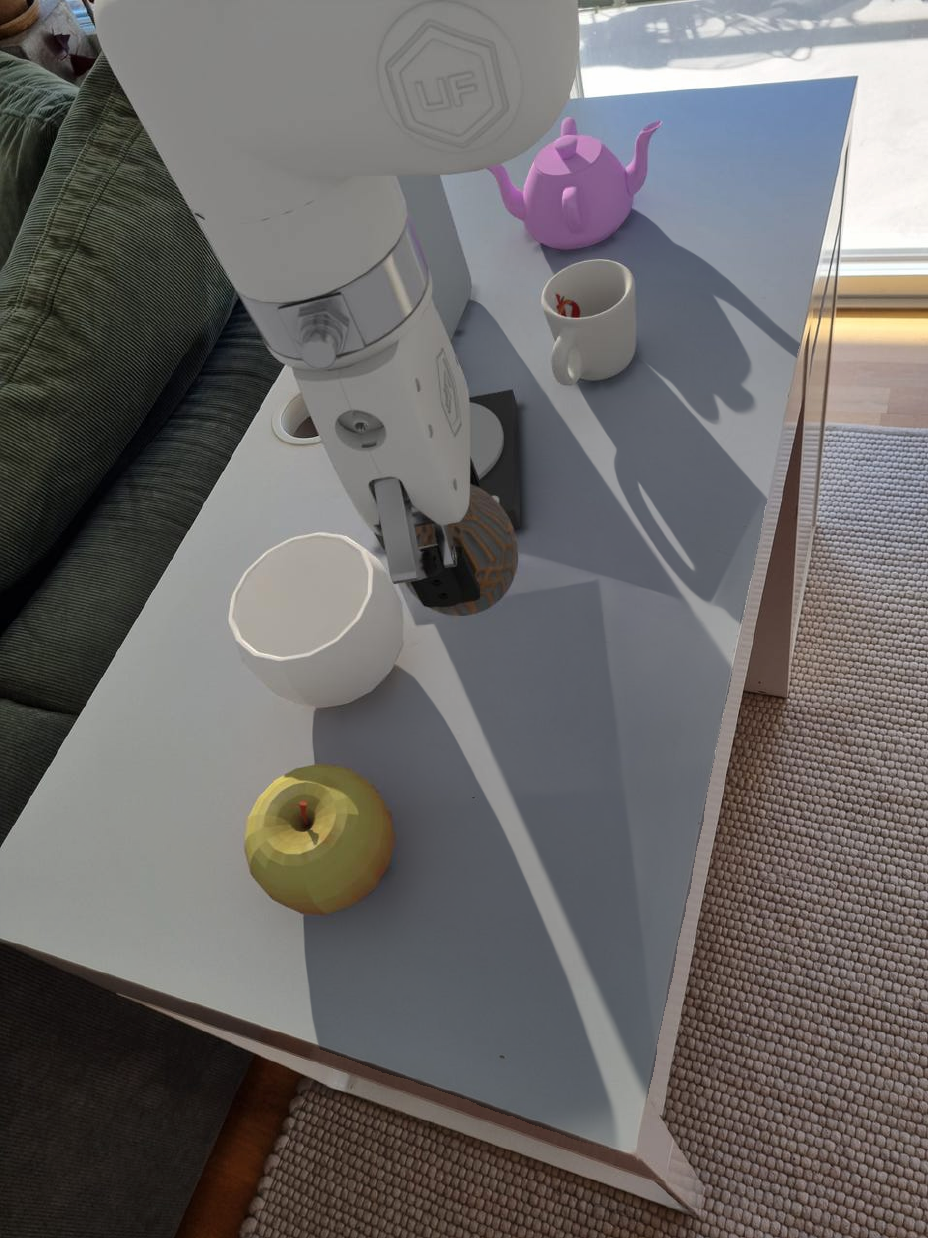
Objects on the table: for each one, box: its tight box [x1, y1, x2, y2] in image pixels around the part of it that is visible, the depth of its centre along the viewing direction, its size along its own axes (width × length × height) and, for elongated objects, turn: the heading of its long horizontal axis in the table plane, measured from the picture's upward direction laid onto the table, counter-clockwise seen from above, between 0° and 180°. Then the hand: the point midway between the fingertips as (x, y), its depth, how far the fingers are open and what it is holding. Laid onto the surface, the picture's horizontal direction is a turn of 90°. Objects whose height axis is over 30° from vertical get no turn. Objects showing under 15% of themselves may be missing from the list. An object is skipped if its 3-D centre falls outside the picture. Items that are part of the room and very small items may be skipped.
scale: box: [373, 389, 521, 550], centre depth 81 cm, size 12×14×3 cm
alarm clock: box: [397, 175, 473, 342], centre depth 86 cm, size 18×9×21 cm, turn 162°
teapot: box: [485, 117, 663, 251], centre depth 95 cm, size 12×14×9 cm
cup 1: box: [227, 531, 404, 709], centre depth 71 cm, size 12×12×10 cm
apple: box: [243, 763, 396, 915], centre depth 62 cm, size 10×10×8 cm
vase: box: [404, 484, 519, 617], centre depth 52 cm, size 7×7×9 cm
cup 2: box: [540, 258, 637, 387], centre depth 82 cm, size 11×8×8 cm
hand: (453, 542), depth 52 cm, fingers closed on vase, 6 cm apart
